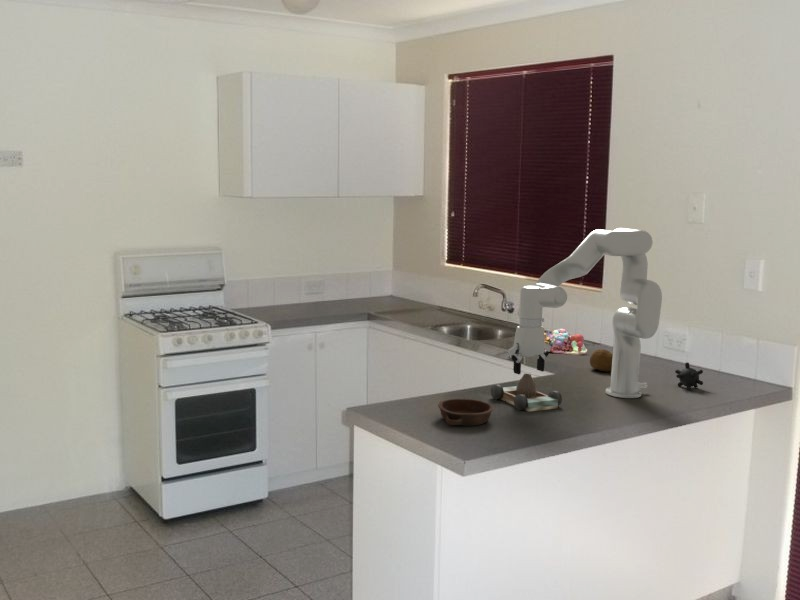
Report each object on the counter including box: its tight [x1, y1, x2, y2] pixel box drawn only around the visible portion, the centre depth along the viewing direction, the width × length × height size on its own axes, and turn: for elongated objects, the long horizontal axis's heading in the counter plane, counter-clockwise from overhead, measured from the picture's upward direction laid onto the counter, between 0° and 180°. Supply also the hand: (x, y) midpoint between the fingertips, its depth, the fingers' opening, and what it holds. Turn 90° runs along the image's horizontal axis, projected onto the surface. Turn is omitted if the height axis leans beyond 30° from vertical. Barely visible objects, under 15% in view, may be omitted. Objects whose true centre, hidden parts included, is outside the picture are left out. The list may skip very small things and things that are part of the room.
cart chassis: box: [490, 384, 563, 413], centre depth 297 cm, size 16×20×5 cm
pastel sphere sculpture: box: [543, 327, 588, 356], centre depth 391 cm, size 25×24×9 cm
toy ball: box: [674, 361, 704, 391], centre depth 326 cm, size 10×10×11 cm
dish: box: [437, 398, 495, 427], centre depth 273 cm, size 18×22×5 cm
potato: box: [589, 349, 613, 373], centre depth 349 cm, size 8×12×9 cm
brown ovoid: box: [516, 373, 538, 398], centre depth 297 cm, size 7×7×9 cm
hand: (528, 372), depth 296 cm, fingers open, 9 cm apart
